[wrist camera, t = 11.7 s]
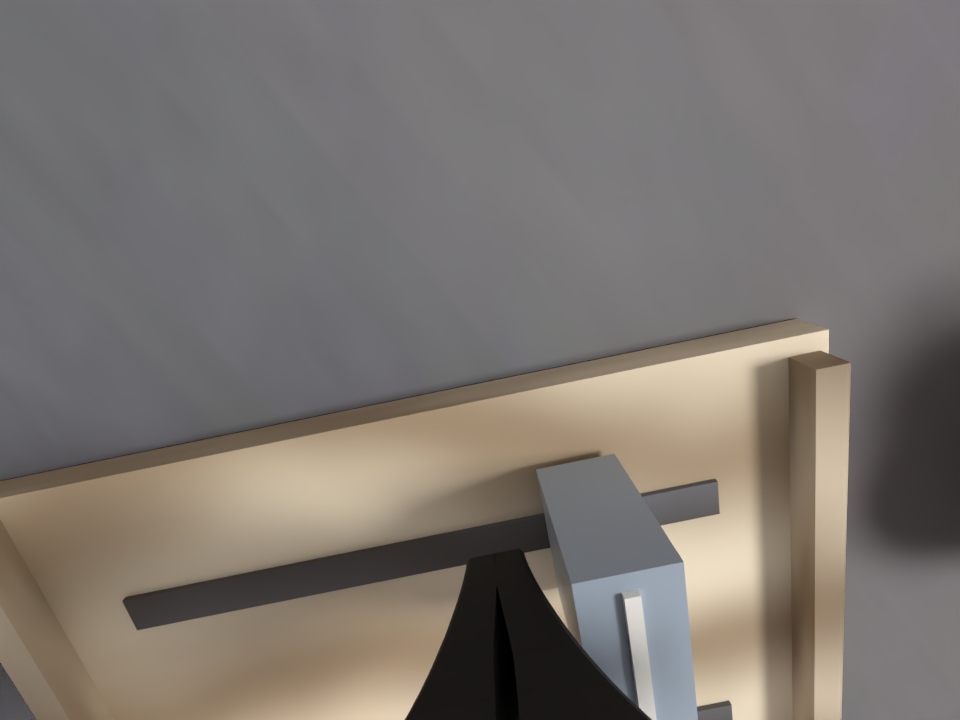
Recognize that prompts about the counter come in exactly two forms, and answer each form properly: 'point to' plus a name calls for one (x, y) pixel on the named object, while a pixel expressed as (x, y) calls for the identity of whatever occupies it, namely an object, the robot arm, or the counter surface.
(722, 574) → the birch console
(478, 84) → the counter surface
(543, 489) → the slate fader
